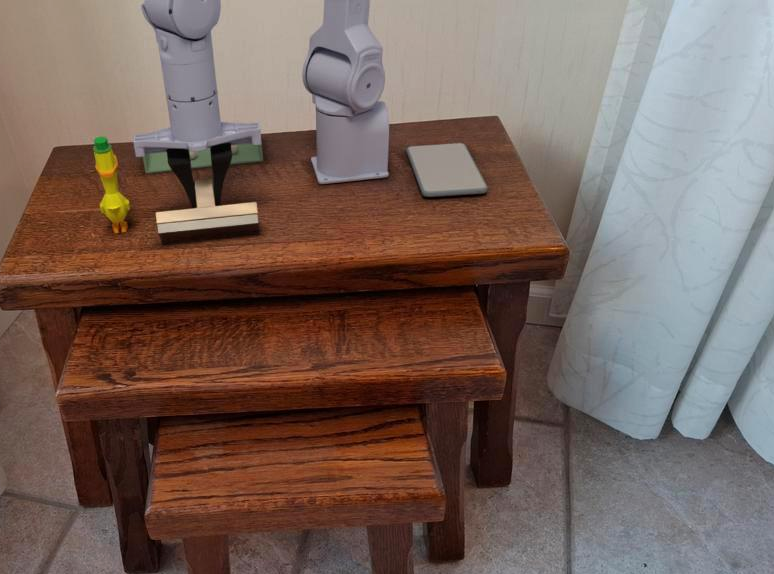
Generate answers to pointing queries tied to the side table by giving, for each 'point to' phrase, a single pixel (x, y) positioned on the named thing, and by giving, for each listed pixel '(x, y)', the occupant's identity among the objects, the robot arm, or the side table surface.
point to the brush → (207, 216)
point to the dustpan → (204, 158)
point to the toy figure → (110, 185)
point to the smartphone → (445, 170)
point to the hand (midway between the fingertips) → (206, 205)
